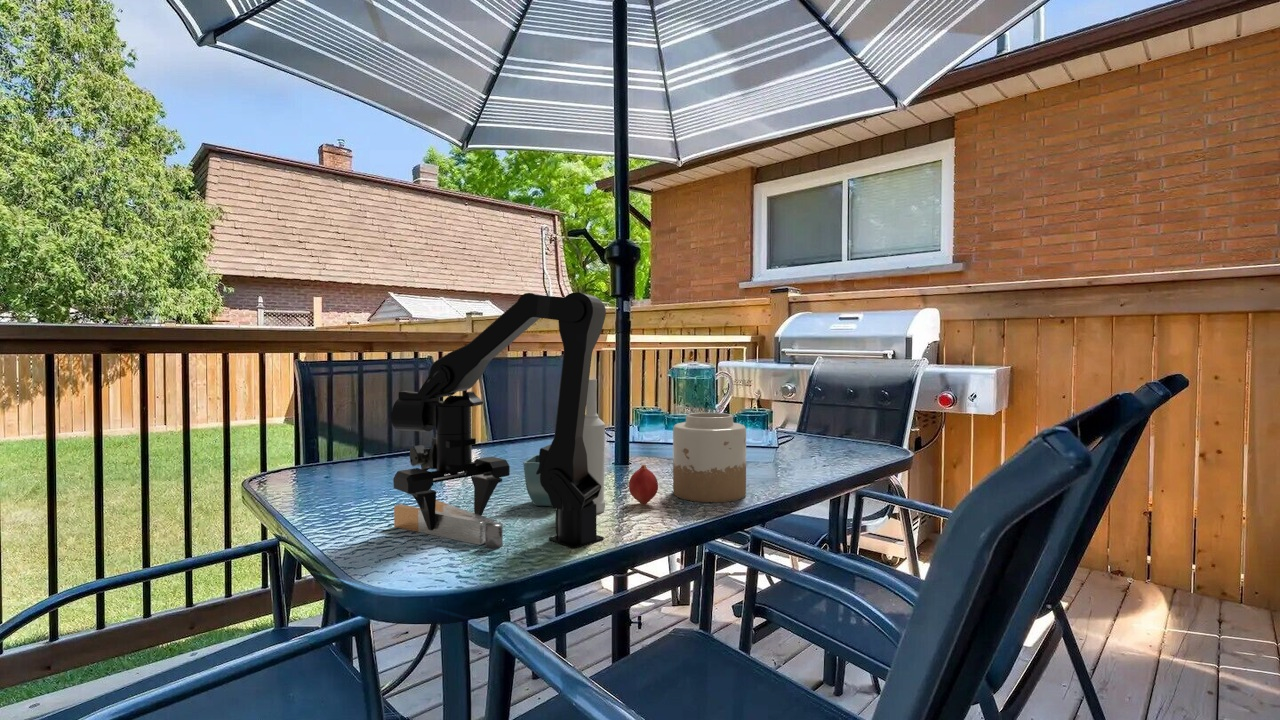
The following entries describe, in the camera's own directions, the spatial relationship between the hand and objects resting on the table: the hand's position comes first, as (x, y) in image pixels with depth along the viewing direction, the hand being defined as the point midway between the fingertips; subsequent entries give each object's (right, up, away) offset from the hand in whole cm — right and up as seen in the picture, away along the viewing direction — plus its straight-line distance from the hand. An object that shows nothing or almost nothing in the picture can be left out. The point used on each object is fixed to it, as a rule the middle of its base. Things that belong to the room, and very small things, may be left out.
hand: (454, 524), depth 105 cm
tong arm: (-2, -1, -2) cm, 3 cm away
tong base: (+1, -1, -1) cm, 2 cm away
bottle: (+22, -1, +13) cm, 26 cm away
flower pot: (+14, -1, +18) cm, 23 cm away
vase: (+46, -1, +26) cm, 53 cm away
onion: (+32, -1, +17) cm, 36 cm away
